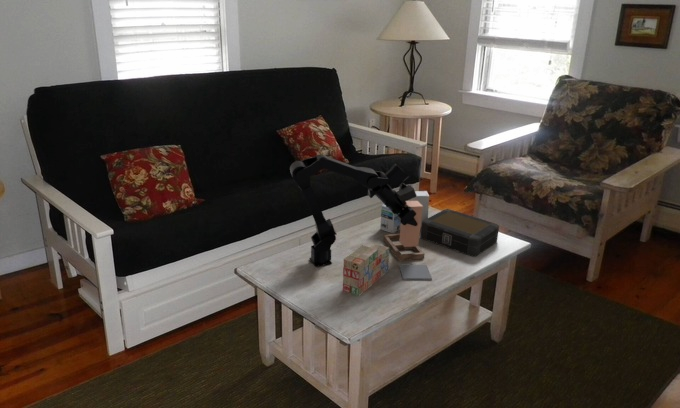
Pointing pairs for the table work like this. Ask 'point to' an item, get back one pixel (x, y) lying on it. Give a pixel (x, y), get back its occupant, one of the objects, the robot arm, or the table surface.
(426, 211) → the skincare box
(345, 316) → the table surface
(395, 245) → the walnut rack
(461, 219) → the cash box
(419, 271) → the slate mat
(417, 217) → the terracotta block
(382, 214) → the light bulb box
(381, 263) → the stack of blocks
